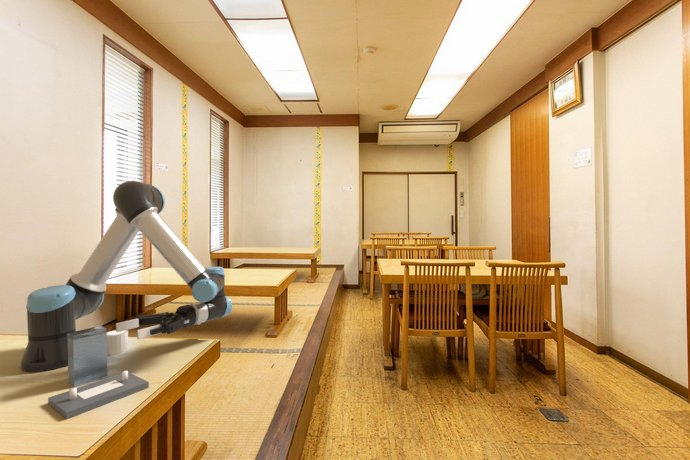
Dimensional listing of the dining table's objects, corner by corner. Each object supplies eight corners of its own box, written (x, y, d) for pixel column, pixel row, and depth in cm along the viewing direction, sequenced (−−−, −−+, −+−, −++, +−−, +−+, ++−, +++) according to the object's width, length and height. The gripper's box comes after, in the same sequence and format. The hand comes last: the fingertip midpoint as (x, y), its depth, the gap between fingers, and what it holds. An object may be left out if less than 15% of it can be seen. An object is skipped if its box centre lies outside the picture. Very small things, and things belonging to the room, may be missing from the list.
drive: (68, 383, 97) (67, 333, 96) (101, 372, 103) (100, 325, 103) (74, 387, 94) (73, 335, 94) (107, 376, 101) (106, 328, 101)
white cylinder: (116, 348, 123) (116, 328, 123) (133, 349, 122) (133, 329, 122) (99, 355, 117) (99, 334, 116) (117, 357, 115) (116, 336, 115)
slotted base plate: (48, 403, 86) (47, 387, 86) (127, 376, 101) (126, 362, 100) (66, 419, 79) (66, 401, 79) (148, 387, 94) (148, 372, 94)
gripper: (213, 330, 117) (148, 351, 100) (172, 320, 131) (109, 336, 114) (212, 308, 117) (147, 325, 99) (171, 300, 131) (108, 313, 113)
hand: (126, 331), depth 107 cm, fingers open, 13 cm apart
